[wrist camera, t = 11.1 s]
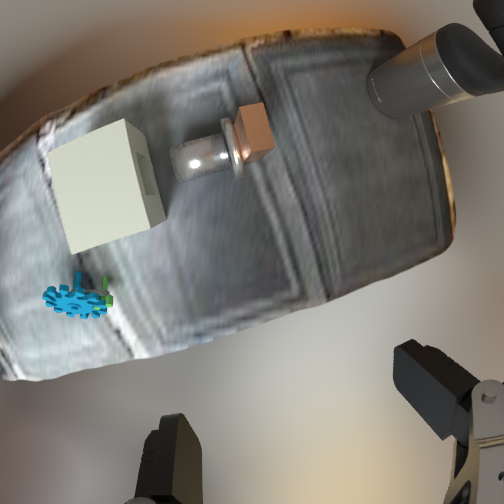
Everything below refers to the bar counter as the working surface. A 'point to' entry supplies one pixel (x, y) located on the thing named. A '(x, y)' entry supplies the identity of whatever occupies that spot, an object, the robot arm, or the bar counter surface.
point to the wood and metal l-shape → (225, 146)
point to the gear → (79, 299)
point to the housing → (105, 186)
